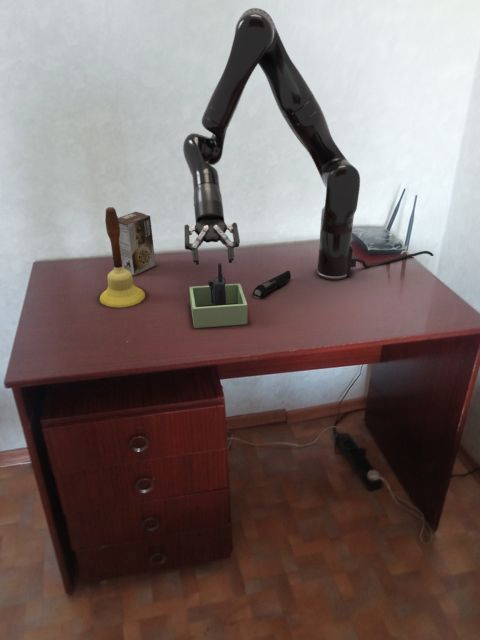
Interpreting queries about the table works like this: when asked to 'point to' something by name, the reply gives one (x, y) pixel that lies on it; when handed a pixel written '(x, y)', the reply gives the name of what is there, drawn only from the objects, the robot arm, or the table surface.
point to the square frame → (218, 307)
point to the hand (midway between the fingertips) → (214, 262)
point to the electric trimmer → (271, 284)
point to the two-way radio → (218, 289)
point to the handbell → (118, 271)
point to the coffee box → (136, 242)
